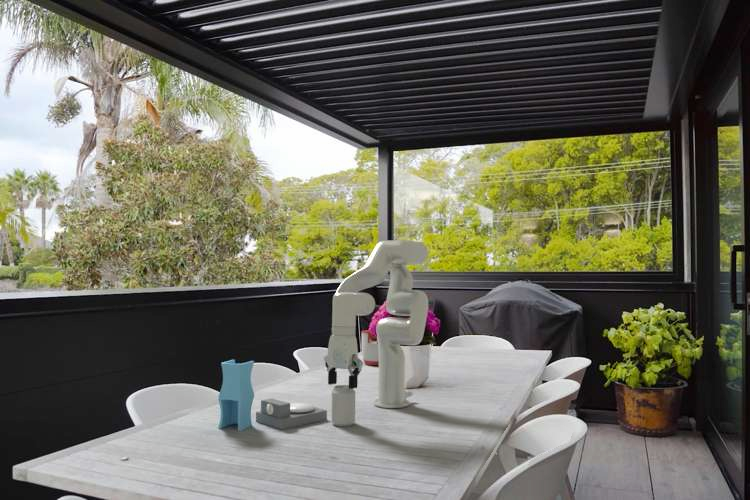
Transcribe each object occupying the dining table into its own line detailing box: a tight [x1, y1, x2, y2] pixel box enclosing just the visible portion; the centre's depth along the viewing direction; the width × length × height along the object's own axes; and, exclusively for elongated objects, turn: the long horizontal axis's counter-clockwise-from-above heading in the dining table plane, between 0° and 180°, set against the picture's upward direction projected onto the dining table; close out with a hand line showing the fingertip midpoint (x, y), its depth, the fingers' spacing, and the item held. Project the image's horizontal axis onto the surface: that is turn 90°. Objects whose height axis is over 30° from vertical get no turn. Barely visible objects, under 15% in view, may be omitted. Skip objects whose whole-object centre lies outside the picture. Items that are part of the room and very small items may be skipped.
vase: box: [217, 359, 255, 432], centre depth 189 cm, size 8×8×20 cm
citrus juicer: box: [360, 329, 379, 366], centre depth 313 cm, size 16×17×20 cm
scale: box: [255, 398, 328, 430], centre depth 197 cm, size 18×14×7 cm
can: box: [331, 384, 356, 427], centre depth 193 cm, size 8×8×12 cm
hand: (342, 386), depth 192 cm, fingers open, 9 cm apart
